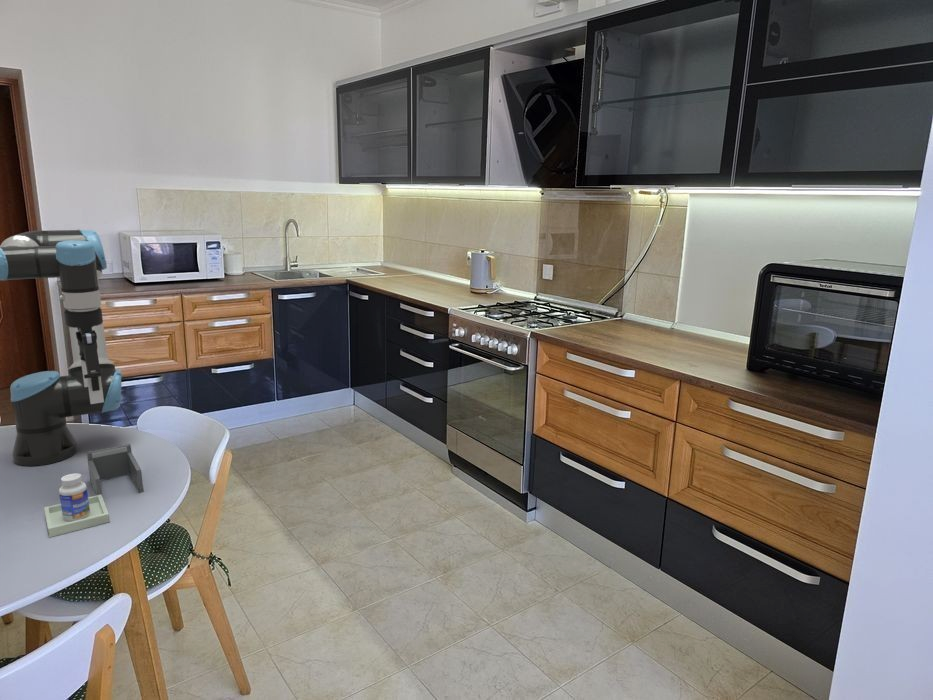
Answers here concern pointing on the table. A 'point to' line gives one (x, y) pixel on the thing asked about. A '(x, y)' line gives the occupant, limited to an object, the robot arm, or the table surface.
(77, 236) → the robot arm
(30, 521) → the table surface
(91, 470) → the bay
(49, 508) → the tray
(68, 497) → the pill bottle
